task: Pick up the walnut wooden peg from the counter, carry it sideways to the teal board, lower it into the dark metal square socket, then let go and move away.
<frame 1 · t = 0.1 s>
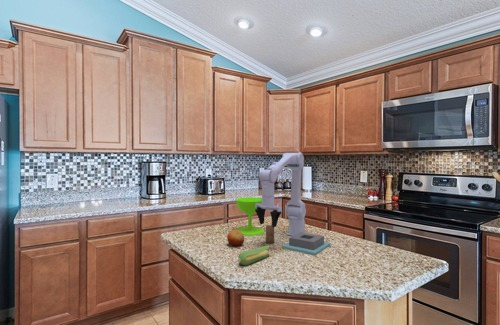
hand: (268, 225, 133), 10 cm above the counter, tool pointing down, fingers open, 7 cm apart
fruit: (235, 245, 135), on the counter
peg: (270, 242, 139), on the counter
wineglass: (249, 232, 160), on the counter
edible corn: (256, 260, 116), on the counter
socket board: (306, 246, 133), on the counter
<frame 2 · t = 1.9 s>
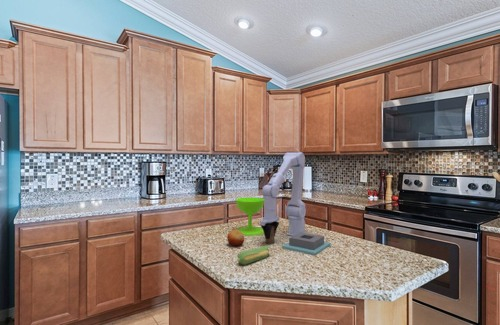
hand: (270, 237, 139), 2 cm above the counter, tool pointing down, fingers closed on peg, 4 cm apart
peg: (270, 242, 139), on the counter, touching gripper
everything else where it was.
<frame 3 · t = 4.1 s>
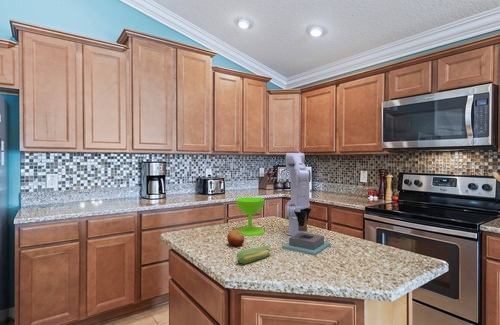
hand: (302, 224, 134), 10 cm above the counter, tool pointing down, fingers closed on peg, 4 cm apart
peg: (302, 230, 134), point 7 cm above the counter, touching gripper
everything else where it was.
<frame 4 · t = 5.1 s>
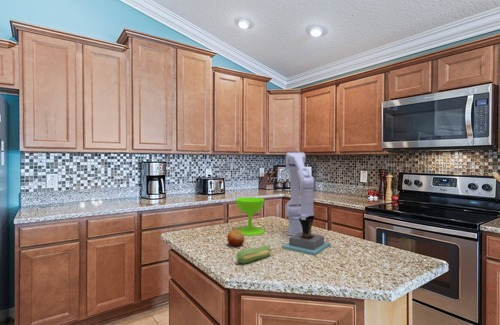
hand: (306, 232, 133), 7 cm above the counter, tool pointing down, fingers closed on peg, 4 cm apart
peg: (306, 237, 133), point 4 cm above the counter, touching gripper
everything else where it was.
when the fingers open (5 cm above the counter, at t = 5.9 s): peg drops 2 cm, resting on socket board.
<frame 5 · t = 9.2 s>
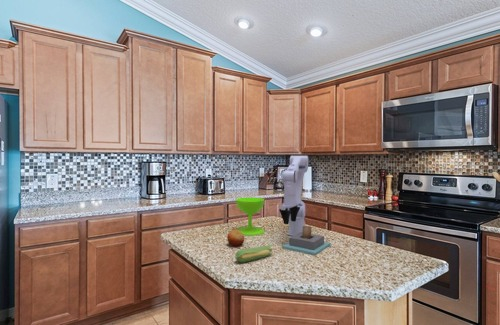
hand: (289, 222, 141), 9 cm above the counter, tool pointing down, fingers open, 7 cm apart
peg: (306, 244, 133), point 1 cm above the counter, touching socket board
at the end: peg 0.1 cm off-centre on the socket board, point 1.0 cm above the socket board's base; peg tilted 0°; the gripper is holding nothing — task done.
